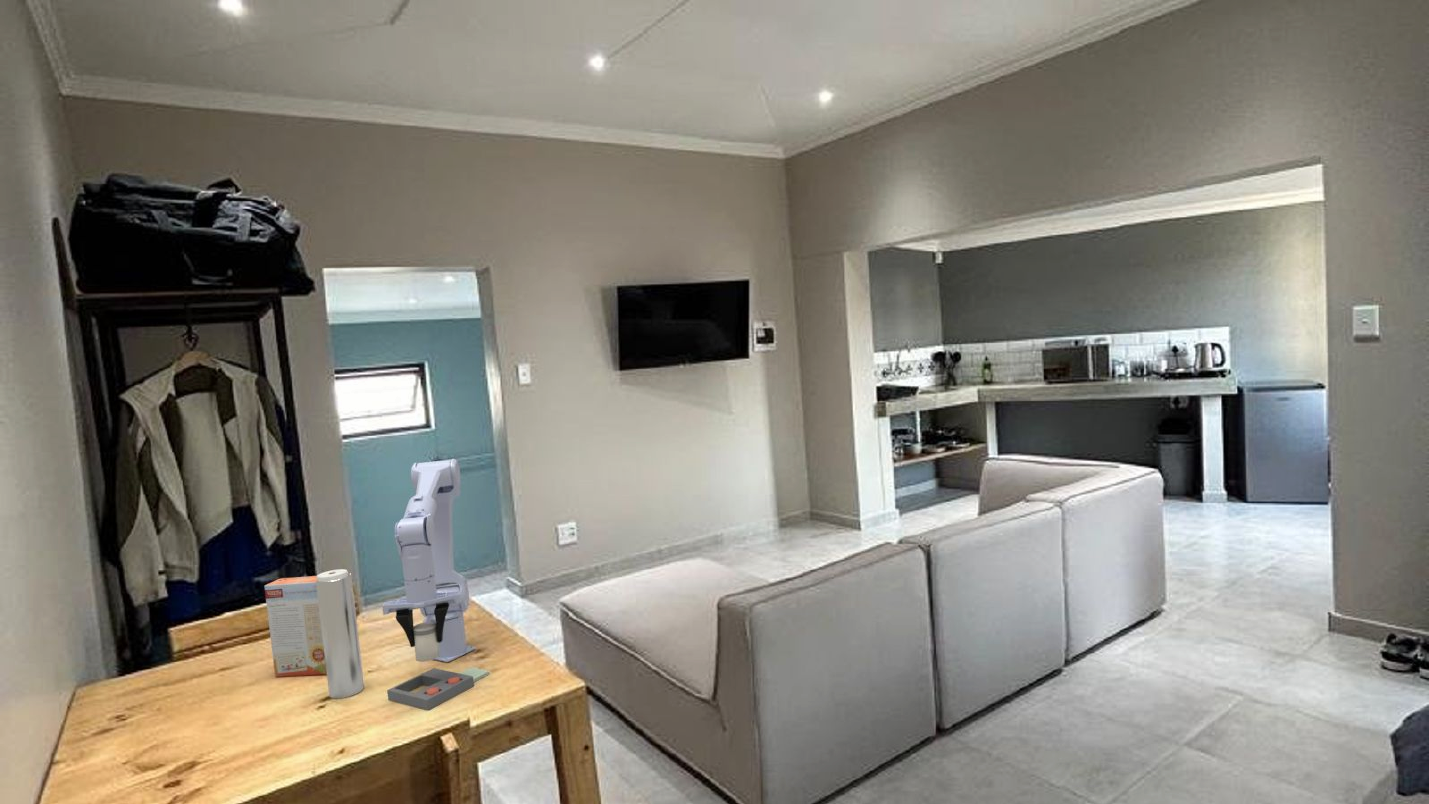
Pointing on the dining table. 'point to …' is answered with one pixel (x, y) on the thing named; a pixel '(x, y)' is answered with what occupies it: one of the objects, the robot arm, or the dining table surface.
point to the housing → (432, 680)
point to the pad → (475, 673)
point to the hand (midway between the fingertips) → (426, 643)
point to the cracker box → (295, 627)
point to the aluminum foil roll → (339, 633)
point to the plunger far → (453, 680)
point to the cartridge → (426, 641)
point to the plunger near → (432, 690)
